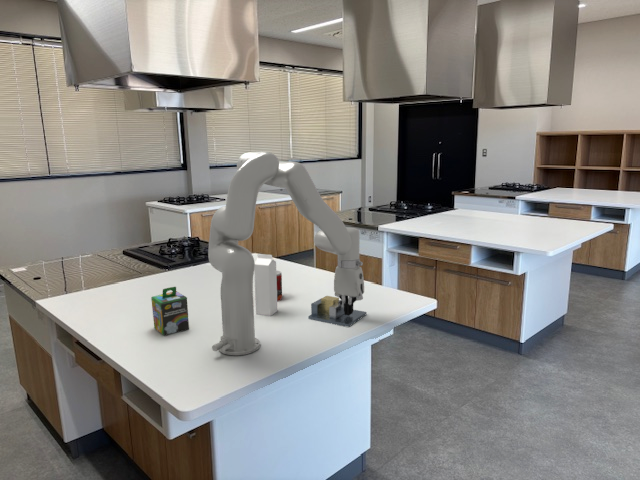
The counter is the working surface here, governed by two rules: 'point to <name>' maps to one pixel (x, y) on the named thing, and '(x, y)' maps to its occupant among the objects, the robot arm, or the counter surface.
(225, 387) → the counter surface
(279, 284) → the canned food
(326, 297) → the brass block
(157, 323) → the chalk box
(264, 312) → the milk
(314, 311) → the vise
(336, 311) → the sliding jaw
